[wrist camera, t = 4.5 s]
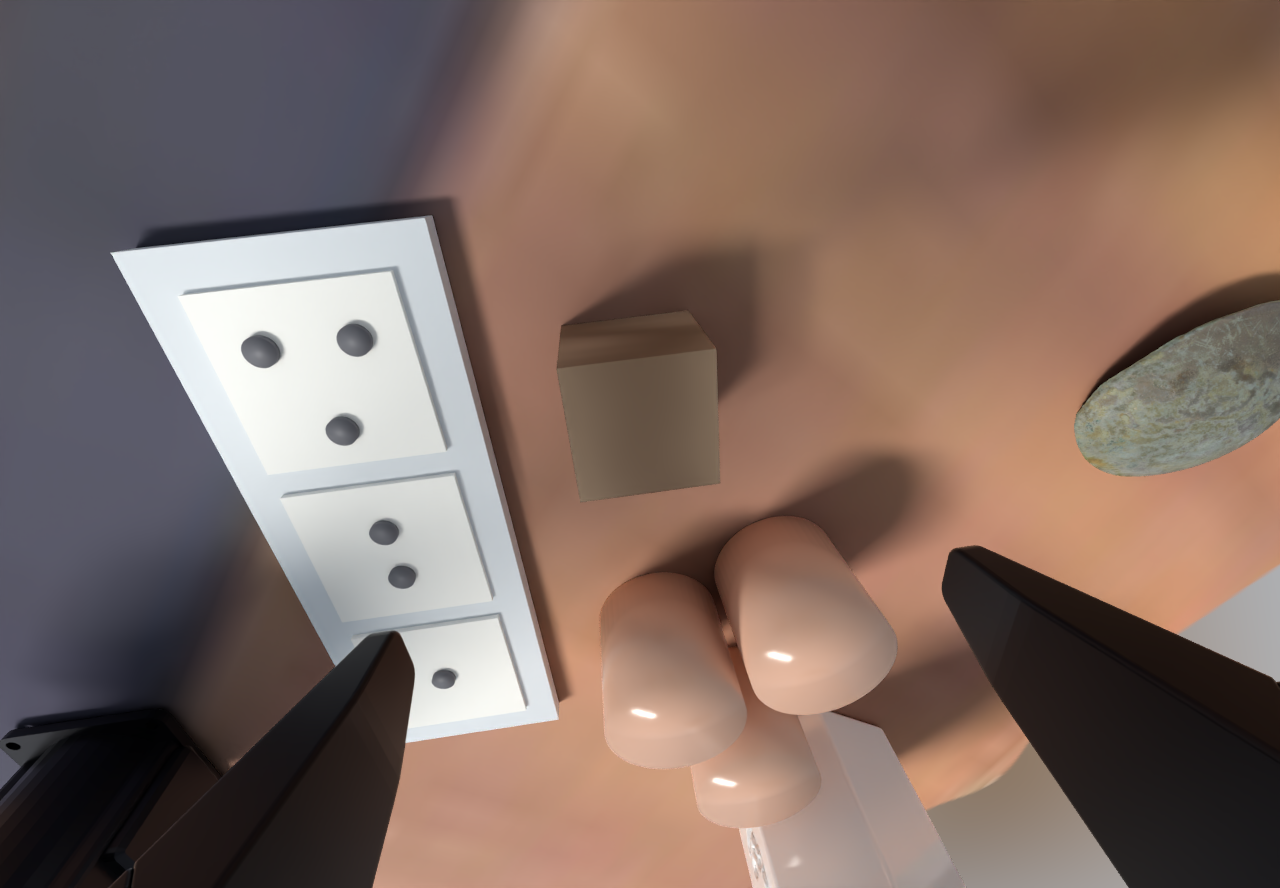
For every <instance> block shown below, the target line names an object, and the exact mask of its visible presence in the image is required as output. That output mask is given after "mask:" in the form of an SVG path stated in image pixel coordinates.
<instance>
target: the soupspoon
mask: <svg viewBox="0 0 1280 888" xmlns="http://www.w3.org/2000/svg"><path fill="white" fill-rule="evenodd" d="M1279 418H1280V300H1277V301H1270V302H1267V303H1262V304H1258V305H1255V306H1252V307H1250V308H1247V309H1244V310H1241V311H1238V312H1235V313H1232V314H1229V315H1226V316H1223V317H1220V318H1217V319H1215V320H1212V321H1210V322H1208V323H1205V324H1203V325H1201V326H1198V327H1196V328H1194V329H1193V330H1191V331H1189V332H1187V333H1186V334H1183V335H1180V336H1178V337H1176V338H1175V339H1173V340H1171V341H1169V342H1167V343H1166V344H1164V345H1163V346H1161V347H1159V349H1157V350H1156V351H1153V352H1151V353H1150V354H1148V355H1147V356H1146V357H1144V358H1142V359H1140V360H1139V361H1137V362H1136V363H1134V364H1133V365H1131V366H1130V367H1128V368H1126V369H1125V370H1123V371H1121V372H1119V373H1118V374H1117V375H1115V376H1114V377H1112V378H1110V379H1108V380H1107V381H1106V382H1104V383H1103V384H1102V385H1100V386H1099V387H1098V389H1097V390H1096V391H1095V392H1094V393H1093V394H1092V395H1091V396H1090V398H1089V399H1088V400H1087V402H1086V403H1085V404H1084V405H1082V408H1081V409H1080V410H1079V411H1078V413H1077V414H1076V419H1075V424H1074V430H1075V437H1076V441H1077V444H1078V447H1079V449H1080V451H1081V453H1082V454H1083V456H1084V458H1085V459H1086V460H1087V461H1088V462H1089V463H1090V464H1092V465H1093V466H1094V467H1096V468H1098V469H1099V470H1101V471H1104V472H1106V473H1109V474H1113V475H1118V476H1150V475H1158V474H1165V473H1170V472H1175V471H1180V470H1184V469H1188V468H1191V467H1195V466H1198V465H1201V464H1203V463H1206V462H1209V461H1211V460H1214V459H1216V458H1219V457H1221V456H1223V455H1225V454H1227V453H1230V452H1232V451H1234V450H1236V449H1238V448H1239V447H1241V446H1243V445H1245V444H1246V443H1248V442H1250V441H1251V440H1253V439H1254V438H1256V437H1257V436H1259V435H1260V434H1261V433H1263V432H1264V431H1265V430H1267V429H1268V428H1269V427H1270V426H1272V425H1273V424H1274V423H1275V422H1276V421H1277V420H1278V419H1279Z"/></svg>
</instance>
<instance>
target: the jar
mask: <svg viewBox="0 0 1280 888" xmlns="http://www.w3.org/2000/svg"><path fill="white" fill-rule="evenodd" d="M797 716H798V718H799V721H800V723H801V726H802V728H803V731H804V733H805V736H806V739H807V741H808V744H809V746H810V749H811V751H812V754H813V756H814V759H815V761H816V764H817V767H818V769H819V772H820V774H821V787H820V790H819V792H818V794H817V795H816V797H815V798H814V799H813V801H812V802H811V803H810V804H809V805H808V806H806V807H805V808H804V809H802V810H801V811H800V812H798V813H796V814H795V815H793V816H791V817H789V818H787V819H784V820H782V821H779V822H776V823H773V824H770V825H766V826H761V827H754V828H739V832H740V836H741V840H742V844H743V848H744V853H745V857H746V861H747V865H748V869H749V874H750V878H751V882H752V886H753V888H967V887H966V886H965V884H964V882H963V880H962V878H961V876H960V874H959V872H958V870H957V868H956V867H955V865H954V863H953V861H952V859H951V857H950V856H949V853H948V852H947V850H946V848H945V846H944V844H943V842H942V841H941V838H940V837H939V835H938V833H937V831H936V829H935V827H934V825H933V823H932V821H931V820H930V818H929V816H928V814H927V812H926V810H925V808H924V806H923V805H922V803H921V801H920V799H919V797H918V795H917V793H916V791H915V790H914V788H913V786H912V784H911V782H910V780H909V778H908V776H907V775H906V773H905V771H904V769H903V767H902V765H901V763H900V761H899V759H898V758H897V756H896V754H895V752H894V750H893V748H892V746H891V744H890V743H889V741H888V739H887V737H886V735H885V733H884V731H883V730H882V729H881V728H880V727H877V726H874V725H871V724H868V723H864V722H861V721H858V720H855V719H852V718H849V717H846V716H843V715H840V714H837V713H833V712H830V711H829V712H825V713H819V714H811V715H797Z"/></svg>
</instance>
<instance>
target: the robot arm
mask: <svg viewBox="0 0 1280 888" xmlns="http://www.w3.org/2000/svg"><path fill="white" fill-rule="evenodd" d="M942 594H943V597H944V600H945V602H946V604H947V606H948V607H949V609H950V611H951V613H952V615H953V616H954V618H955V620H956V622H957V624H958V626H959V627H960V629H961V631H962V633H963V635H964V637H965V638H966V640H967V642H968V644H969V646H970V648H971V649H972V651H973V653H974V655H975V657H976V658H977V660H978V662H979V664H980V666H981V668H982V669H983V671H984V673H985V675H986V676H987V678H988V680H989V681H990V683H991V685H992V687H993V688H994V690H995V691H996V693H997V694H998V696H999V697H1000V699H1001V700H1002V702H1003V703H1004V705H1005V706H1006V708H1007V709H1008V711H1009V712H1010V714H1011V715H1012V717H1013V718H1014V720H1015V721H1016V723H1017V724H1018V725H1019V727H1020V728H1021V730H1022V731H1023V733H1024V734H1025V736H1026V737H1027V739H1028V740H1029V742H1030V743H1031V745H1032V746H1033V747H1034V749H1035V750H1036V752H1037V753H1038V755H1039V756H1040V758H1041V759H1042V761H1043V762H1044V764H1045V765H1046V767H1047V768H1048V770H1049V771H1050V772H1051V774H1052V775H1053V777H1054V778H1055V780H1056V781H1057V783H1058V784H1059V786H1060V787H1061V789H1062V790H1063V792H1064V793H1065V795H1066V796H1067V797H1068V799H1069V801H1070V802H1071V803H1072V805H1073V806H1074V808H1075V809H1076V811H1077V812H1078V814H1079V815H1080V817H1081V818H1082V820H1083V821H1084V823H1085V824H1086V825H1087V827H1088V829H1089V830H1090V831H1091V833H1092V834H1093V836H1094V837H1095V839H1096V840H1097V842H1098V843H1099V845H1100V846H1101V848H1102V849H1103V850H1104V852H1105V854H1106V855H1107V856H1108V858H1109V859H1110V861H1111V862H1112V864H1113V865H1114V867H1115V868H1116V870H1117V871H1118V873H1119V874H1120V876H1121V877H1122V879H1123V880H1124V881H1125V883H1126V884H1127V886H1128V887H1129V888H1280V682H1276V681H1275V680H1274V679H1273V678H1272V677H1270V676H1267V675H1265V674H1263V673H1261V672H1259V671H1256V670H1254V669H1252V668H1250V667H1247V666H1245V665H1243V664H1241V663H1239V662H1236V661H1234V660H1232V659H1229V658H1228V657H1225V656H1223V655H1221V654H1219V653H1216V652H1214V651H1212V650H1210V649H1208V648H1205V647H1203V646H1201V645H1199V644H1196V643H1194V642H1192V641H1190V640H1188V639H1185V638H1183V637H1181V636H1179V635H1177V634H1174V633H1172V632H1170V631H1168V630H1166V629H1163V628H1161V627H1159V626H1157V625H1154V624H1152V623H1150V622H1148V621H1146V620H1143V619H1141V618H1139V617H1137V616H1134V615H1132V614H1130V613H1128V612H1126V611H1123V610H1121V609H1119V608H1117V607H1115V606H1112V605H1110V604H1108V603H1106V602H1103V601H1101V600H1099V599H1097V598H1095V597H1092V596H1090V595H1088V594H1086V593H1083V592H1081V591H1079V590H1077V589H1075V588H1072V587H1070V586H1068V585H1066V584H1064V583H1061V582H1059V581H1057V580H1055V579H1052V578H1050V577H1048V576H1046V575H1044V574H1041V573H1039V572H1037V571H1035V570H1032V569H1030V568H1028V567H1026V566H1024V565H1021V564H1019V563H1017V562H1015V561H1013V560H1010V559H1008V558H1006V557H1004V556H1001V555H999V554H997V553H995V552H993V551H990V550H988V549H986V548H984V547H981V546H975V545H973V546H966V547H959V548H955V549H953V550H952V551H951V552H950V553H949V556H948V560H947V564H946V568H945V573H944V577H943V581H942ZM414 682H415V668H414V664H413V662H412V659H411V657H410V655H409V652H408V650H407V648H406V646H405V643H404V641H403V639H402V636H401V635H400V633H399V632H397V631H395V630H390V631H383V632H377V633H372V634H369V635H368V636H367V637H365V638H364V639H363V640H362V641H361V642H360V643H359V644H358V645H357V646H356V647H355V648H354V649H353V650H352V651H351V652H350V653H349V654H348V655H347V656H346V657H345V658H344V659H343V660H342V661H341V662H340V663H339V664H338V665H337V666H335V667H334V668H333V669H332V670H331V671H330V672H329V673H328V674H327V675H326V676H325V677H324V678H323V679H322V680H321V681H320V682H319V683H318V684H317V685H316V686H315V687H314V688H313V689H312V690H311V691H310V692H309V693H308V694H307V695H306V696H305V697H304V698H303V699H302V700H301V701H300V702H299V703H298V704H297V705H295V706H294V707H293V708H292V709H291V710H290V711H289V712H288V713H287V714H286V715H285V716H284V717H283V718H282V719H281V720H280V721H279V722H278V723H277V724H276V725H275V726H274V727H273V728H272V729H271V730H270V731H269V732H268V733H267V734H266V735H265V736H264V737H263V738H262V739H261V740H260V741H259V742H258V743H257V744H256V745H254V746H253V747H252V748H251V749H250V750H249V751H248V752H247V753H246V754H245V755H244V756H243V757H242V758H241V759H240V760H239V761H238V762H237V763H236V764H235V765H234V766H233V767H232V768H231V769H230V770H229V771H228V772H227V773H226V774H225V775H224V776H223V777H221V775H220V774H219V773H218V772H217V771H216V769H215V768H214V767H213V766H212V764H211V763H210V762H209V761H208V759H207V758H206V757H205V756H204V755H203V753H202V752H201V751H200V750H199V748H198V747H197V746H196V745H195V743H194V742H193V741H192V740H191V739H190V737H189V736H188V735H187V734H186V732H185V731H184V730H183V729H182V727H181V726H180V725H179V724H178V722H177V721H176V720H175V719H174V718H173V716H172V715H171V714H170V713H168V712H167V711H164V710H161V709H150V710H143V711H136V712H130V713H123V714H116V715H109V716H102V717H96V718H89V719H82V720H75V721H68V722H62V723H55V724H48V725H41V726H35V727H28V728H21V729H14V730H11V731H9V732H8V733H7V734H6V735H5V736H4V737H3V738H2V739H1V740H0V748H1V749H2V750H3V751H4V752H5V753H6V754H8V755H9V756H10V757H11V758H12V759H13V760H14V761H15V762H16V763H17V764H19V765H20V766H21V768H20V769H19V770H18V771H17V772H16V773H15V774H14V775H13V776H12V777H11V778H10V780H9V781H8V782H7V783H6V784H5V785H4V786H3V787H2V788H1V789H0V888H372V887H373V883H374V879H375V875H376V871H377V867H378V863H379V859H380V855H381V852H382V848H383V844H384V840H385V836H386V832H387V828H388V824H389V820H390V817H391V813H392V809H393V805H394V801H395V797H396V793H397V788H398V784H399V780H400V774H401V768H402V763H403V756H404V749H405V743H406V736H407V729H408V723H409V716H410V709H411V703H412V696H413V689H414Z"/></svg>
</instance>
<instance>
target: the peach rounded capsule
mask: <svg viewBox="0 0 1280 888" xmlns="http://www.w3.org/2000/svg"><path fill="white" fill-rule="evenodd" d="M599 622H600V646H601V669H602V693H603V717H604V735H605V739H606V742H607V744H608V746H609V748H610V749H611V750H612V751H613V753H615V754H616V755H617V756H618V757H620V758H621V759H623V760H624V761H626V762H629V763H631V764H634V765H637V766H640V767H645V768H651V769H675V768H682V767H687V766H692V765H695V764H698V763H701V762H704V761H707V760H709V759H711V758H713V757H715V756H717V755H718V754H720V753H722V752H723V751H725V750H726V749H727V748H728V747H730V746H731V745H732V744H733V743H734V742H735V741H736V740H737V739H738V737H739V736H740V734H741V733H742V731H743V729H744V727H745V724H746V721H747V708H746V705H745V702H744V698H743V695H742V692H741V689H740V685H739V682H738V679H737V676H736V672H735V669H734V666H733V662H732V659H731V656H730V653H729V649H728V646H727V643H726V639H725V636H724V633H723V630H722V626H721V623H720V620H719V616H718V613H717V610H716V607H715V603H714V600H713V598H712V596H711V594H710V592H709V591H708V590H707V588H706V587H704V586H703V585H702V584H701V583H700V582H698V581H697V580H695V579H693V578H691V577H688V576H685V575H682V574H677V573H669V572H659V573H651V574H646V575H642V576H639V577H636V578H634V579H631V580H629V581H627V582H625V583H624V584H622V585H621V586H619V587H618V588H617V589H616V590H614V591H613V592H612V593H611V594H610V596H609V597H608V598H607V599H606V601H605V602H604V604H603V607H602V609H601V612H600V619H599Z"/></svg>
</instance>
